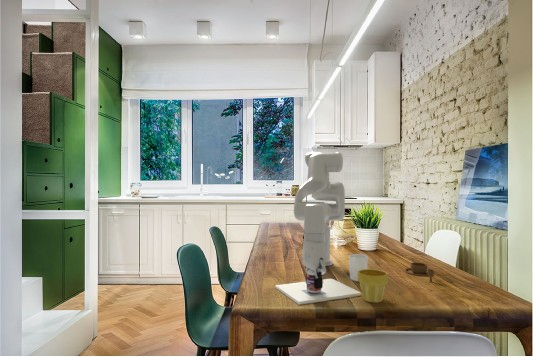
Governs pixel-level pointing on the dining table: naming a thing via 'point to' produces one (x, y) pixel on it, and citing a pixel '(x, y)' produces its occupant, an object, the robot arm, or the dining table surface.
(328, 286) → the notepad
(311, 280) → the pill bottle
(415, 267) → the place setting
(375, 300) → the plant pot
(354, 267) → the white cup
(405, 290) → the dining table surface
